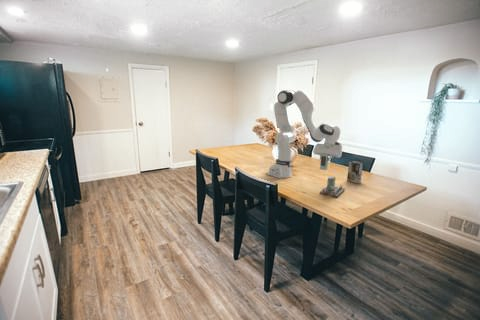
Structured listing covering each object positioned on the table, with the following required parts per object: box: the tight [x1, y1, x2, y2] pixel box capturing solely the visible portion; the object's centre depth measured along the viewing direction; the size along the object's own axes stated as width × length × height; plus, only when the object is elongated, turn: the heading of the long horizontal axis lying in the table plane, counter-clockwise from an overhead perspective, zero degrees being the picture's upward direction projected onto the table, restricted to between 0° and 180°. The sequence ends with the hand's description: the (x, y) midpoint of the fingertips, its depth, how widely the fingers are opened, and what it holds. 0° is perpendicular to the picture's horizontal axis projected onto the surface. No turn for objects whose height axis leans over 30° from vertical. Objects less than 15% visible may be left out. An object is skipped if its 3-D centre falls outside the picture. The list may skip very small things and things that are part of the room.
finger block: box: [319, 154, 329, 171], centre depth 180 cm, size 4×4×11 cm
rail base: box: [319, 176, 345, 199], centre depth 177 cm, size 12×18×12 cm, turn 142°
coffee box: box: [346, 160, 364, 184], centre depth 201 cm, size 9×6×16 cm
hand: (324, 160), depth 180 cm, fingers closed on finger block, 4 cm apart
